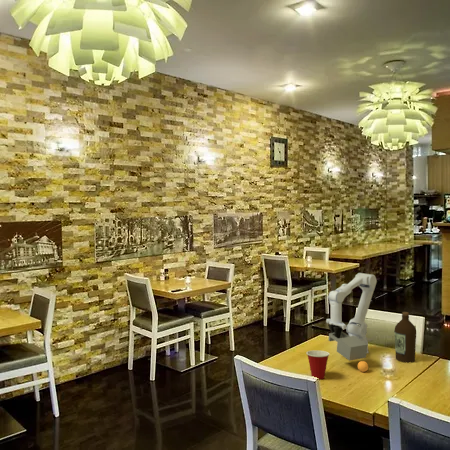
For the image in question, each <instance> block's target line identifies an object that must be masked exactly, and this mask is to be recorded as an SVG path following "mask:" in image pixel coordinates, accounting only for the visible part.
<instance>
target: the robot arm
mask: <svg viewBox="0 0 450 450" xmlns="http://www.w3.org/2000/svg"><path fill="white" fill-rule="evenodd" d="M377 280H378V279H377V277H376V275H374V274H373V273H372V274H371V273H363V272H358V273H357V274H355V276H354V278H353V279H352V280H350V281H349V282H348V283H343V284H341V285H340V286H339V287H338V288H336V289H335V290H331V291H329V293H328V296H327V299H328V302H329V305H330V318H326V321H325V322H326V324H329V325H328V328H329V330H330V333H335V337H337V338H340V335H341V332H343V331H344V330H346V334H347V335H349V336H350V337H351V336H355V337H356V338H358V339H360V340H361V341H363V342H364V343H366V344H367V353H366V354H369V341H368V337H367V336H366V335H367V334H368V332H367V331H368V330H367V329H368V324H367V323H366V321H365V320H366V316H367V313H368V310H369V307H370V304H371V300H372V297H373V294H374V291H375V288H376V285H377V283H378V281H377ZM356 287H359V288H360V289H361V290H362V293H361V296H360V299H359V303H358V306H357V309H356V312H355V315H354V317H353V318H351V319H350V320H349V322H348V324H345V323H344V322H343V321H342V315H343V314H342V312H343V306H342V304H343V302H344V300H345V298H346V297H347V296H348V295H350V294H351V293H352V290H353V289H355V288H356Z"/></svg>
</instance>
